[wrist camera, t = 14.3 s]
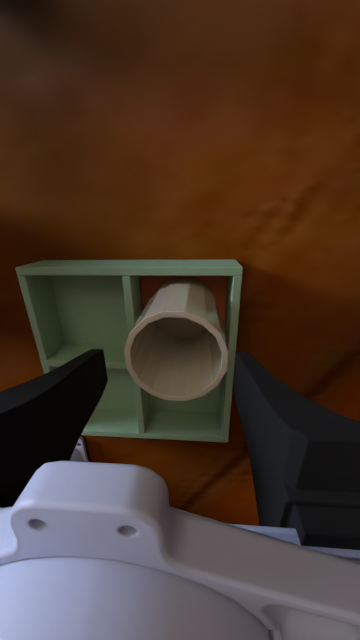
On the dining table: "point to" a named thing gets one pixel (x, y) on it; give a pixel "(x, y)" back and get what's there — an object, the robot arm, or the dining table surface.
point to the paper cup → (178, 342)
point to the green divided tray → (112, 333)
